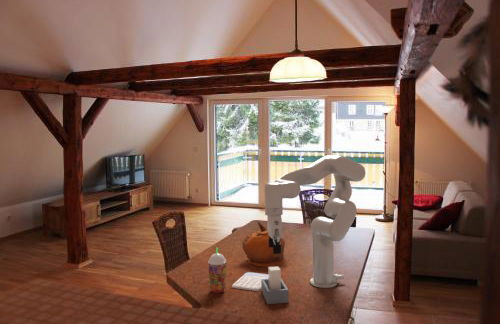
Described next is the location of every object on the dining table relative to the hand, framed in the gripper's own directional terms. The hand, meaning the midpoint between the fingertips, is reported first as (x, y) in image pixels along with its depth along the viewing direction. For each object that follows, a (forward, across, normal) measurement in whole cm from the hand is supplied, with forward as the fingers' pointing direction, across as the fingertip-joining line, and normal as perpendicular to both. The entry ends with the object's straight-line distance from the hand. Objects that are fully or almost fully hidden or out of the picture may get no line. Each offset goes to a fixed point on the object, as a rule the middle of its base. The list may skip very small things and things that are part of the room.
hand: (274, 250), depth 168 cm
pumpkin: (+21, +51, -5) cm, 55 cm away
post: (+20, 0, 0) cm, 20 cm away
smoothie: (+20, +11, +25) cm, 34 cm away
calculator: (+21, +19, +8) cm, 29 cm away
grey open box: (+20, 0, +1) cm, 21 cm away
